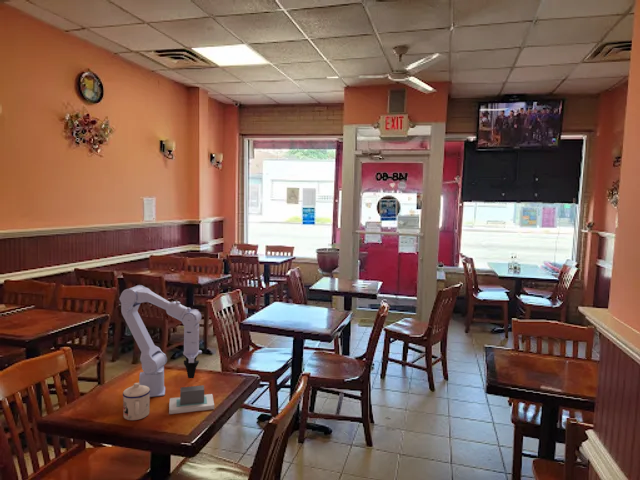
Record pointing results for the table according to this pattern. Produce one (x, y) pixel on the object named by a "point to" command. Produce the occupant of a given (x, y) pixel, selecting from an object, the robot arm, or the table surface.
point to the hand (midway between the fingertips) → (190, 374)
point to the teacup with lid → (136, 402)
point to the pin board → (191, 405)
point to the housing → (191, 395)
